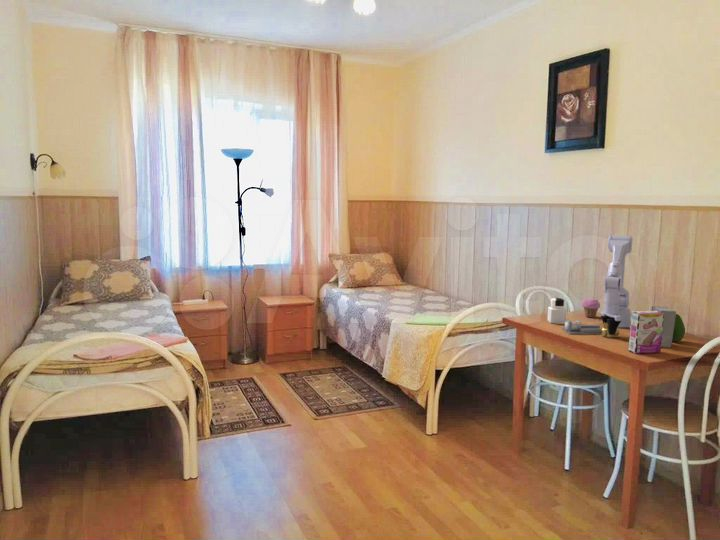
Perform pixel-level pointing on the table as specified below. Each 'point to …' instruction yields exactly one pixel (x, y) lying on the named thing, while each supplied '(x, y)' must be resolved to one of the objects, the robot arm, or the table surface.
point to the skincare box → (666, 324)
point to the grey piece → (580, 328)
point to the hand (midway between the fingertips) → (609, 333)
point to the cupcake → (590, 307)
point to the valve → (606, 331)
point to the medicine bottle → (557, 311)
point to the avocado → (678, 329)
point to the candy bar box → (646, 332)
